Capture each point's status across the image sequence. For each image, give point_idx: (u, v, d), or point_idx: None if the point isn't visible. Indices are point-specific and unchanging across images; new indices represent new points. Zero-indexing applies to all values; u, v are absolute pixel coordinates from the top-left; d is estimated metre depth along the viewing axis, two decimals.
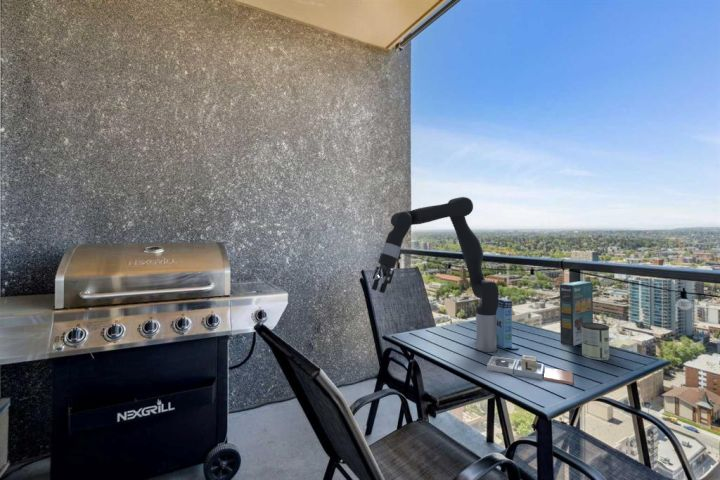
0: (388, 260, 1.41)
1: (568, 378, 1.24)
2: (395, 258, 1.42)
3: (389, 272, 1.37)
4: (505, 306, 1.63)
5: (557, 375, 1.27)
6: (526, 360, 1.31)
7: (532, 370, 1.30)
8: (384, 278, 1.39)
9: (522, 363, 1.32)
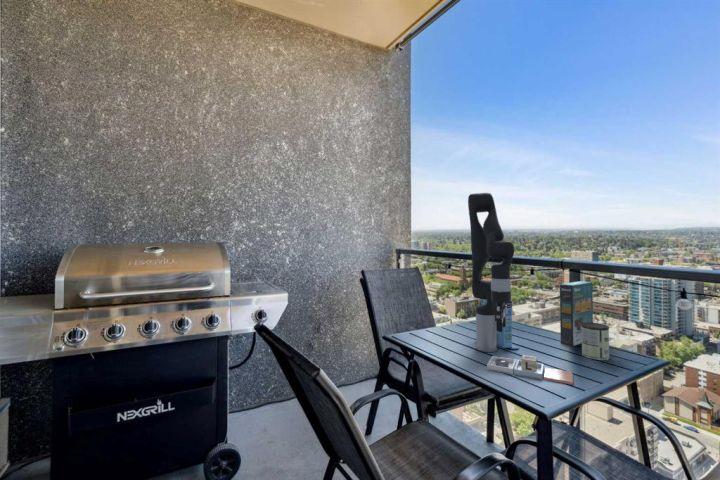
0: None
1: (568, 378, 1.24)
2: None
3: None
4: None
5: (557, 375, 1.27)
6: (526, 360, 1.31)
7: (532, 370, 1.30)
8: None
9: (522, 363, 1.32)
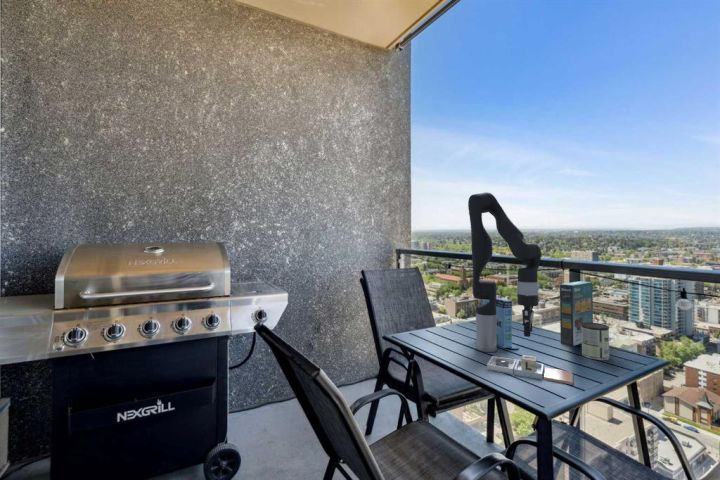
0: None
1: (568, 378, 1.24)
2: None
3: None
4: (505, 306, 1.63)
5: (557, 375, 1.27)
6: (526, 360, 1.31)
7: (532, 370, 1.30)
8: None
9: (522, 363, 1.32)
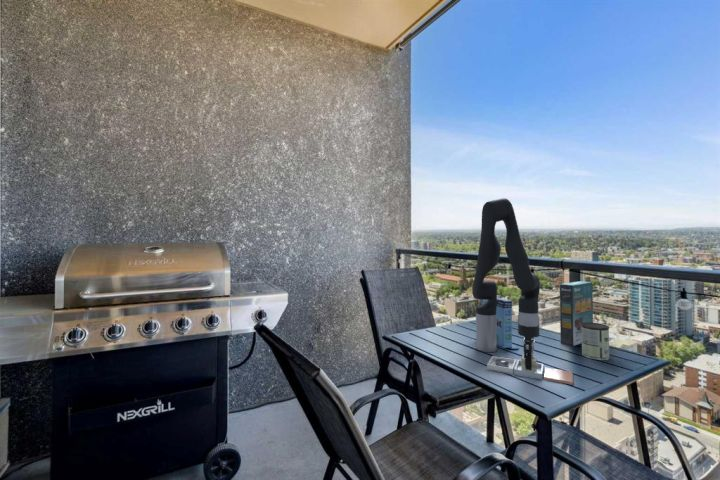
0: None
1: (568, 378, 1.24)
2: None
3: None
4: (505, 306, 1.63)
5: (557, 375, 1.27)
6: None
7: (532, 370, 1.30)
8: None
9: (522, 363, 1.32)
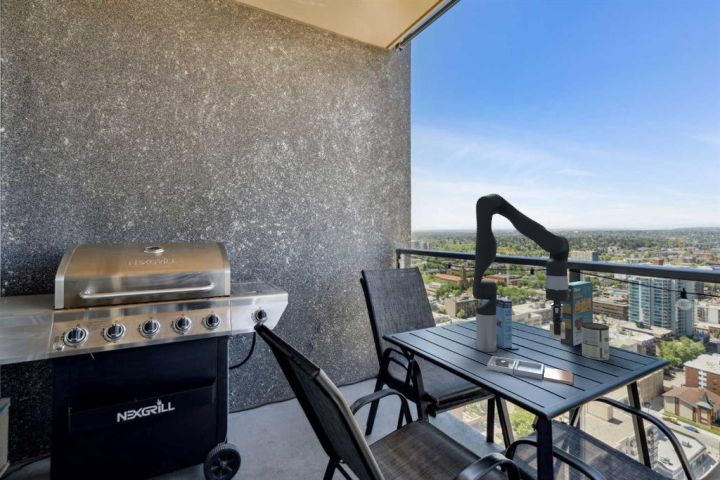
0: None
1: (568, 378, 1.24)
2: None
3: None
4: (505, 306, 1.63)
5: (557, 375, 1.27)
6: None
7: (561, 335, 1.25)
8: None
9: (550, 328, 1.27)
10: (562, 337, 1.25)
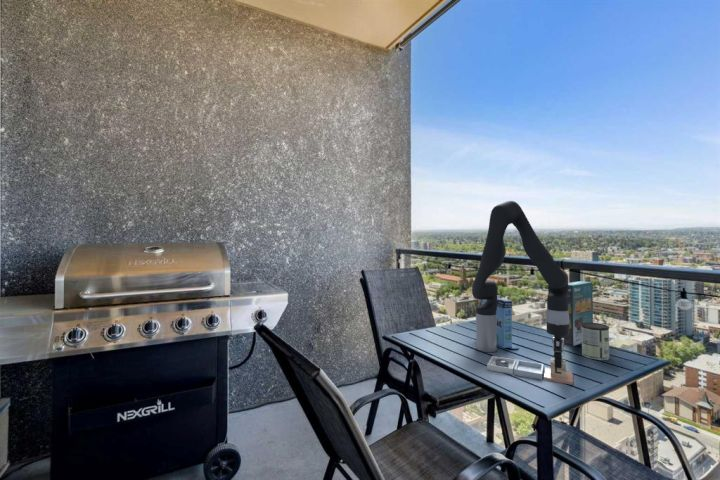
0: None
1: (568, 378, 1.24)
2: None
3: None
4: (505, 306, 1.63)
5: None
6: None
7: (562, 374, 1.25)
8: None
9: (551, 366, 1.27)
10: (563, 376, 1.25)
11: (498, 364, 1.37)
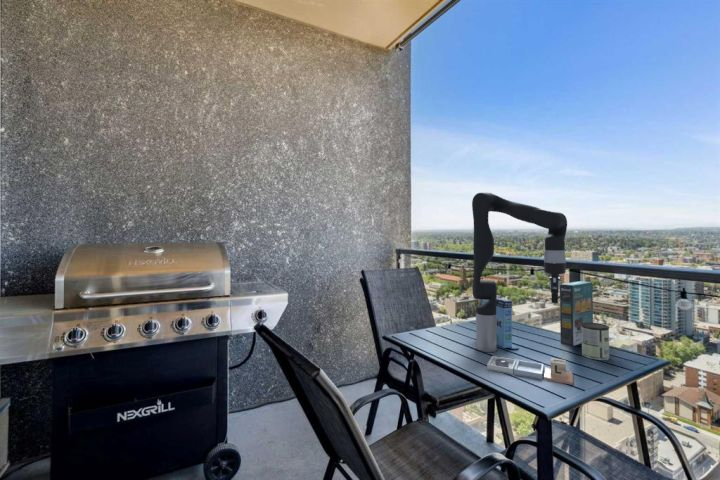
0: None
1: (568, 378, 1.24)
2: None
3: None
4: (505, 306, 1.63)
5: None
6: (555, 363, 1.26)
7: (562, 374, 1.25)
8: None
9: (551, 366, 1.27)
10: (563, 376, 1.25)
11: (498, 364, 1.37)
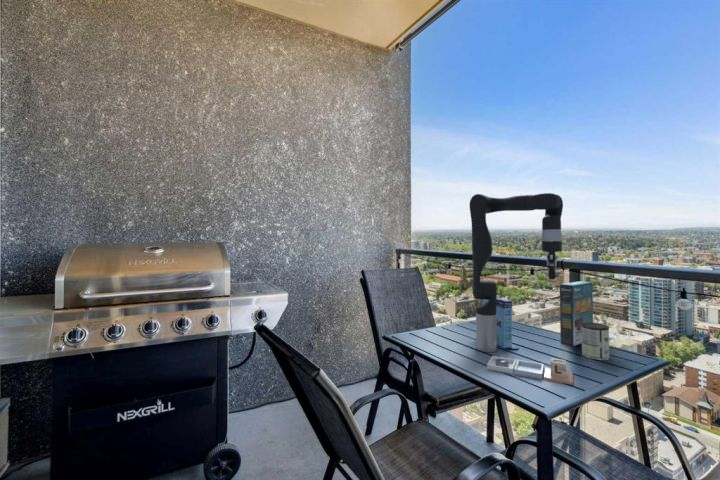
0: None
1: (568, 378, 1.24)
2: None
3: None
4: (505, 306, 1.63)
5: None
6: (555, 363, 1.26)
7: (562, 374, 1.25)
8: None
9: (551, 366, 1.27)
10: (563, 376, 1.25)
11: (498, 364, 1.37)
